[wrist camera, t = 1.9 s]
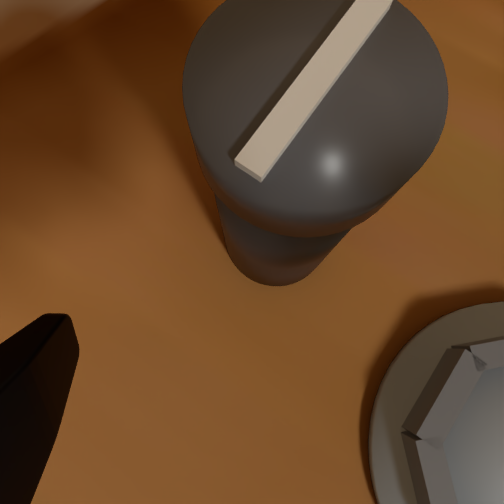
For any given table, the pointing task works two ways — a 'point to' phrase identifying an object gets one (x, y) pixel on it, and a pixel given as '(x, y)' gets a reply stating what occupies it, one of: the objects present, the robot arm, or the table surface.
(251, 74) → the knob
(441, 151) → the table surface
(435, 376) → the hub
